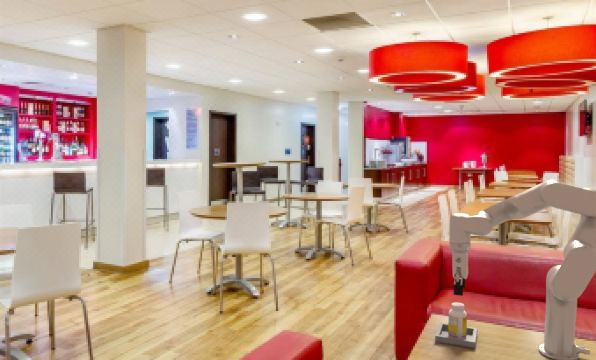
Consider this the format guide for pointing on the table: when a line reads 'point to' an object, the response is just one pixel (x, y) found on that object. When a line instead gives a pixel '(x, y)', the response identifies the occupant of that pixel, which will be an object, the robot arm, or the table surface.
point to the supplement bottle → (457, 321)
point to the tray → (445, 339)
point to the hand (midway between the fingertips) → (459, 291)
